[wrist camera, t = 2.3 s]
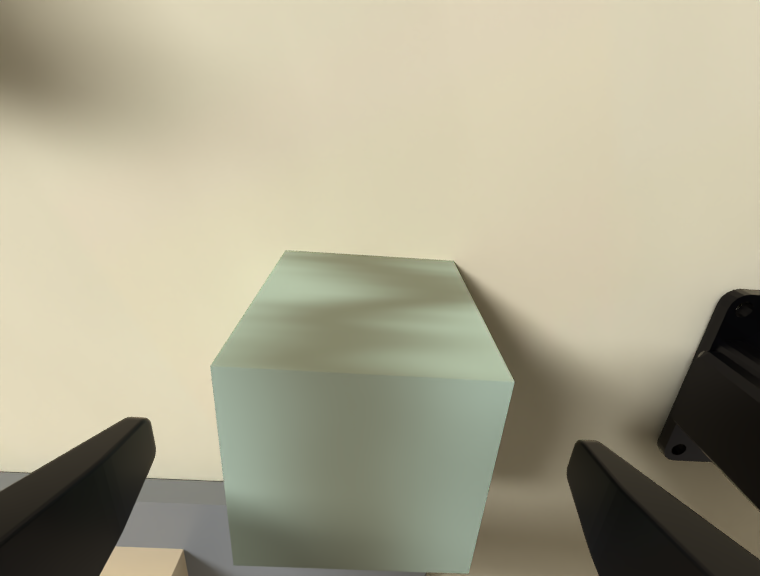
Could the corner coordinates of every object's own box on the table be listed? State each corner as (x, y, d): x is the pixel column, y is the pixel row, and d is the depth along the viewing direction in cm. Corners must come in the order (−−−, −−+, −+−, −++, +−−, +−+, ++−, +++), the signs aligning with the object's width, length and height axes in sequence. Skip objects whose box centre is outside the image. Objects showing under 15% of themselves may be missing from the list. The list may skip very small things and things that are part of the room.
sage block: (452, 260, 12) (514, 381, 7) (433, 395, 14) (468, 574, 9) (285, 249, 12) (210, 366, 7) (289, 388, 14) (233, 565, 9)
